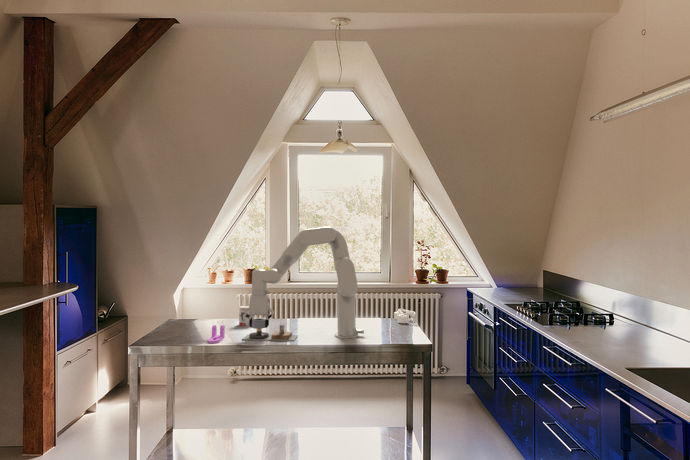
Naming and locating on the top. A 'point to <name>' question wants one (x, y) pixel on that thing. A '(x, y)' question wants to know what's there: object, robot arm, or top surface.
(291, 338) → the mat
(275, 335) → the stand
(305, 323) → the top surface
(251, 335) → the hub
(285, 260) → the robot arm
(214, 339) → the bracket
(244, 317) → the ink box
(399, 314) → the skeletal toy car
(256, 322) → the ring
